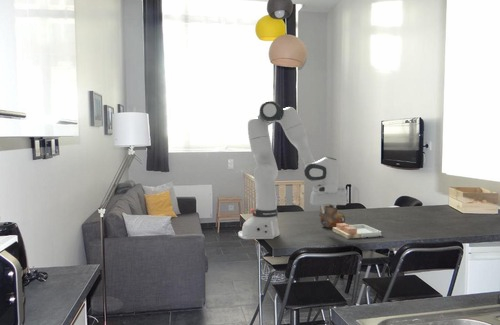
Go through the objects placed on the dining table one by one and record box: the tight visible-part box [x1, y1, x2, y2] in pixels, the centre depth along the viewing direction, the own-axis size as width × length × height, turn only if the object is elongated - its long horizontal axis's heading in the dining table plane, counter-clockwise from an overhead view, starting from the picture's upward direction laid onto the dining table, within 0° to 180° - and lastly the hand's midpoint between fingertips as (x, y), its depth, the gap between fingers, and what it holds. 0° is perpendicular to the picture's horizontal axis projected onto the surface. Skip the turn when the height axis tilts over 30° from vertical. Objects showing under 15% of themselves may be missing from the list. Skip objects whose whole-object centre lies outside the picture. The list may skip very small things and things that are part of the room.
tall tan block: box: [319, 205, 338, 222], centre depth 190 cm, size 3×14×7 cm, turn 14°
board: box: [332, 227, 362, 240], centre depth 193 cm, size 8×16×2 cm, turn 14°
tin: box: [319, 211, 346, 228], centre depth 210 cm, size 15×3×8 cm, turn 101°
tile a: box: [336, 222, 350, 230], centre depth 197 cm, size 5×5×2 cm
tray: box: [348, 223, 383, 239], centre depth 195 cm, size 12×18×2 cm, turn 14°
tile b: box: [344, 226, 357, 234], centre depth 189 cm, size 5×5×2 cm
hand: (328, 213), depth 190 cm, fingers closed on tall tan block, 3 cm apart
